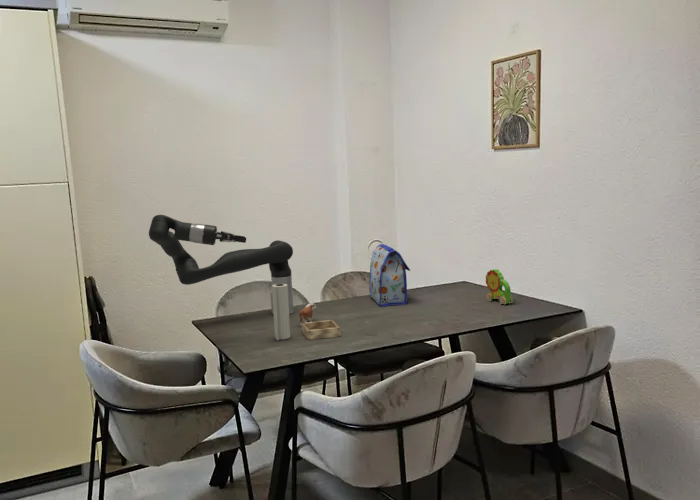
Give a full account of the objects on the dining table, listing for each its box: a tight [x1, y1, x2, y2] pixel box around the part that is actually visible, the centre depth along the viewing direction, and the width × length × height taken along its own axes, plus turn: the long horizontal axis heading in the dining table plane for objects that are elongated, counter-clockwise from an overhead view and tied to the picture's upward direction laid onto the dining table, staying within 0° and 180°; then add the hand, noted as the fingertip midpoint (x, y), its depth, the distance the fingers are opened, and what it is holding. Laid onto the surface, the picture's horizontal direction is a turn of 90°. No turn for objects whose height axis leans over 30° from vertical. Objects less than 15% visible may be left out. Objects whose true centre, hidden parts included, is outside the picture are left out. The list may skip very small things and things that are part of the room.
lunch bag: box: [368, 244, 411, 307], centre depth 299 cm, size 23×17×27 cm
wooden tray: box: [301, 319, 341, 341], centre depth 248 cm, size 13×13×4 cm
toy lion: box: [485, 269, 514, 305], centre depth 288 cm, size 16×5×15 cm, turn 25°
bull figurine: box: [298, 301, 317, 327], centre depth 264 cm, size 4×13×8 cm, turn 161°
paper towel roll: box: [271, 284, 291, 342], centre depth 243 cm, size 7×6×21 cm
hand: (245, 239), depth 240 cm, fingers open, 8 cm apart
